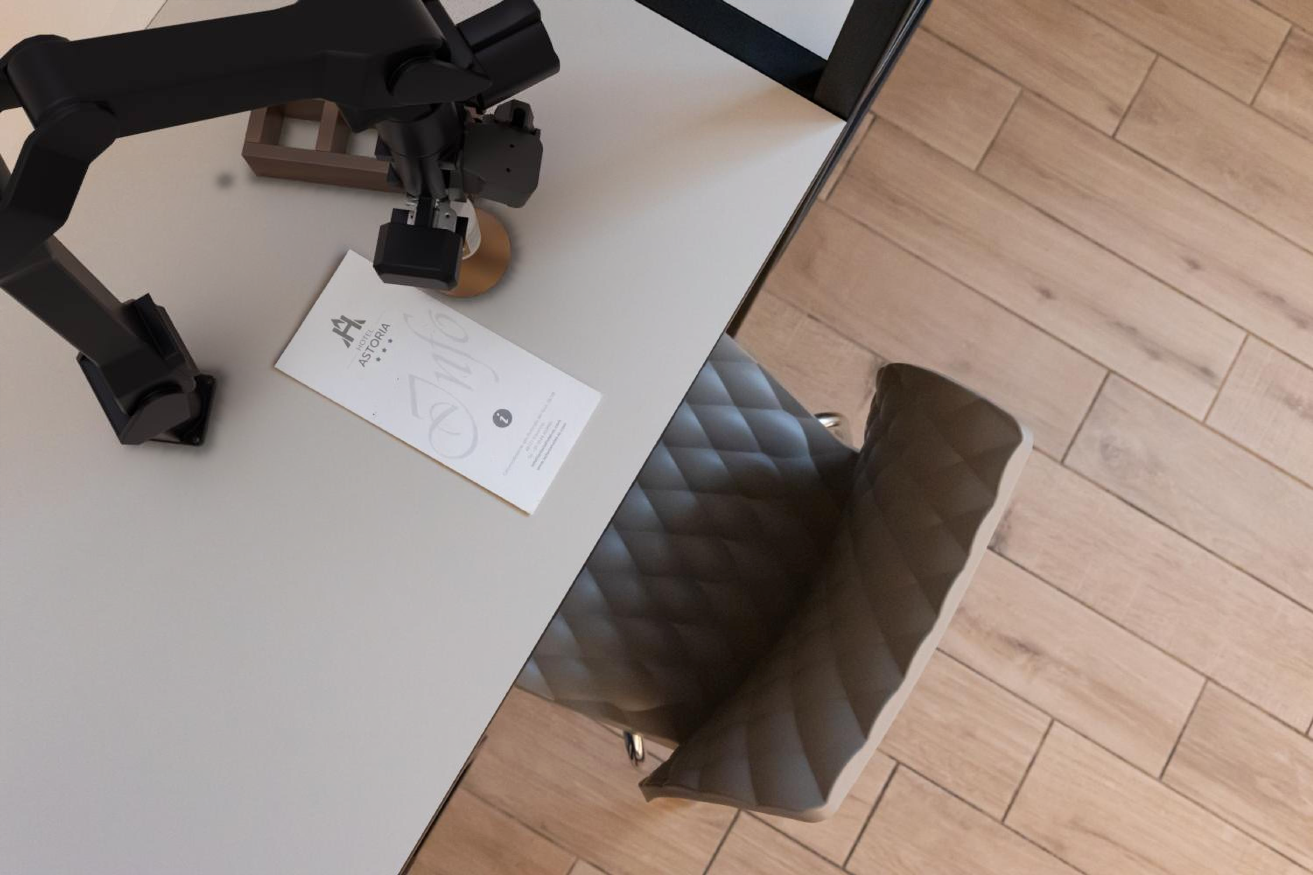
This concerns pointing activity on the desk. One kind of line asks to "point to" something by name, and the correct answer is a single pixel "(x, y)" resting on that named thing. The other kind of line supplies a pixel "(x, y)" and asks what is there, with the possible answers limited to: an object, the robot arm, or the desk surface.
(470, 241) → the pill bottle
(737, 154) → the desk surface
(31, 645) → the desk surface
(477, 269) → the coaster
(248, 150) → the rack
